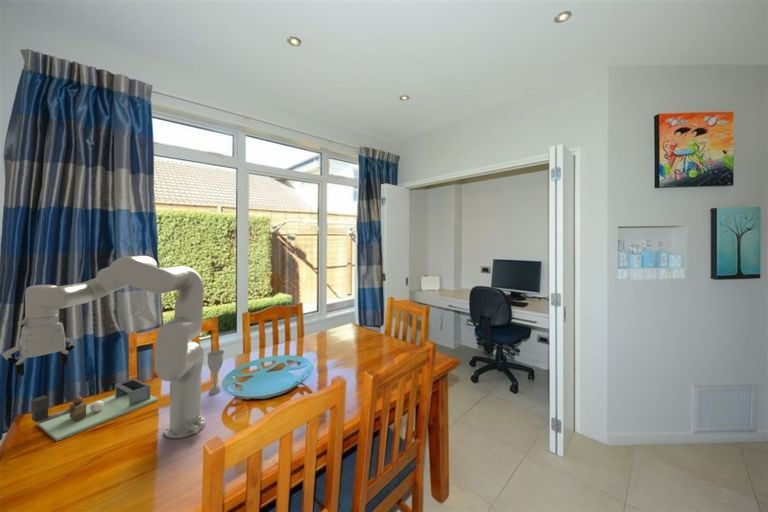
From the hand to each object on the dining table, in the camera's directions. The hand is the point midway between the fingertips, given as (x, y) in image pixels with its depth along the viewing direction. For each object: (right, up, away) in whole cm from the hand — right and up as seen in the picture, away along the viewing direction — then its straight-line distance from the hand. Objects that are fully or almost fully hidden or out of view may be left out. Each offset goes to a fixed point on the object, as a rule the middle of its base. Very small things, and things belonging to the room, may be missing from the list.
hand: (42, 369), depth 102 cm
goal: (+11, -22, +24) cm, 34 cm away
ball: (+6, -19, +13) cm, 24 cm away
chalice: (+40, -23, +34) cm, 58 cm away
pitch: (+6, -22, +15) cm, 28 cm away
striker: (+1, -21, +4) cm, 22 cm away
